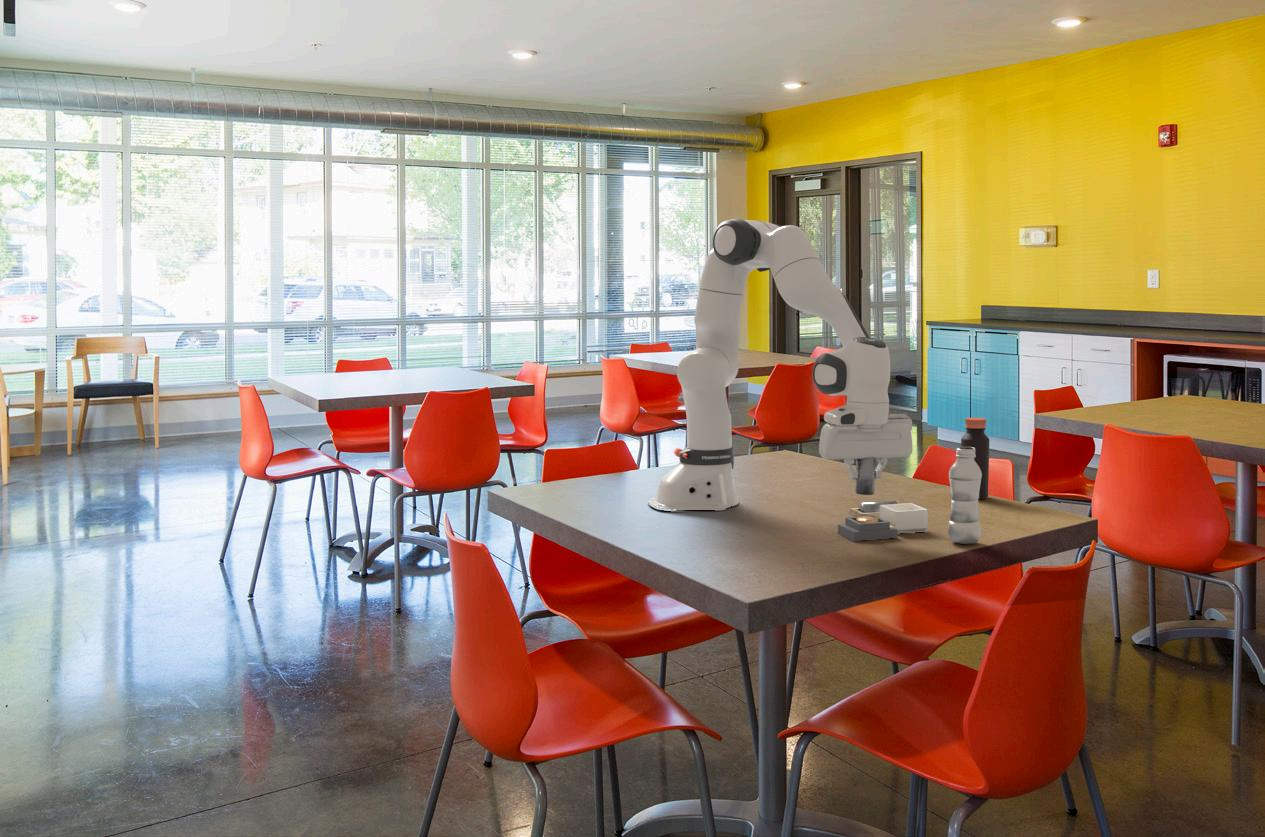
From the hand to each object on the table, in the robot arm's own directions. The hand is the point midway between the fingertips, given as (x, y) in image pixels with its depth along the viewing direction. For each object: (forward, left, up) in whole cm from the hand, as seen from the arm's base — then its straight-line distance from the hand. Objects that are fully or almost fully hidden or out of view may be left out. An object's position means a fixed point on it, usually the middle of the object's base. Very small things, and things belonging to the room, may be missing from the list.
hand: (865, 478), depth 226 cm
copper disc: (+1, 0, -10) cm, 10 cm away
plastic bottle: (+17, -12, -13) cm, 24 cm away
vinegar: (+44, +30, -13) cm, 55 cm away
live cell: (+9, +11, -13) cm, 19 cm away
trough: (+9, +11, -13) cm, 19 cm away
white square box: (+11, +3, -12) cm, 17 cm away
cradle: (+1, 0, -12) cm, 12 cm away
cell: (0, 0, -3) cm, 3 cm away
